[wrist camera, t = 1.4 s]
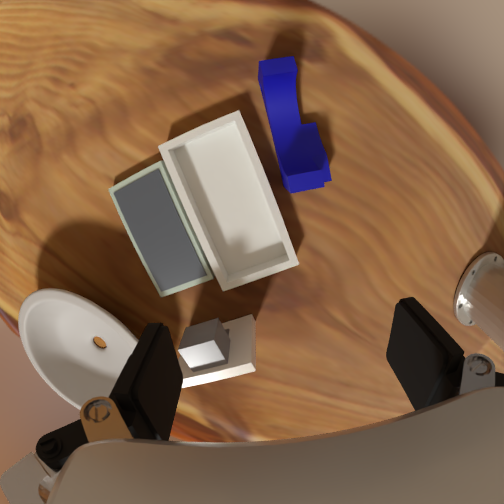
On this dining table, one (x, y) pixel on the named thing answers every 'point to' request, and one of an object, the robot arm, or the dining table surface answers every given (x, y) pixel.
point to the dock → (229, 201)
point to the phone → (161, 230)
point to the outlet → (217, 350)
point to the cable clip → (291, 128)
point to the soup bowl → (73, 344)
